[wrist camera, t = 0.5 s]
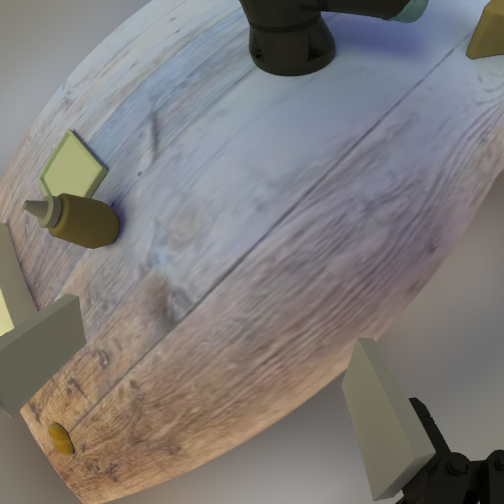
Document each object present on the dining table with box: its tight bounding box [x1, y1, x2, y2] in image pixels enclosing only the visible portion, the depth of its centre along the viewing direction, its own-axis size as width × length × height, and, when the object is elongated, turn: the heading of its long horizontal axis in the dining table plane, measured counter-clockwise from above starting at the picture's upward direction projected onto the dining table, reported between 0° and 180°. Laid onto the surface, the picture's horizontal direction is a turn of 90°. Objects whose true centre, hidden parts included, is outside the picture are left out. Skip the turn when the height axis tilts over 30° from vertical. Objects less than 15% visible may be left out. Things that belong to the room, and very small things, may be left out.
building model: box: [0, 222, 38, 337], centre depth 48 cm, size 45×22×10 cm, turn 49°
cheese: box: [466, 0, 504, 59], centre depth 20 cm, size 22×10×15 cm, turn 123°
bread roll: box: [48, 423, 73, 456], centre depth 41 cm, size 8×9×4 cm
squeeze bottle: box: [24, 193, 119, 249], centre depth 35 cm, size 8×8×18 cm
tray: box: [38, 129, 108, 199], centre depth 48 cm, size 23×15×2 cm, turn 49°
